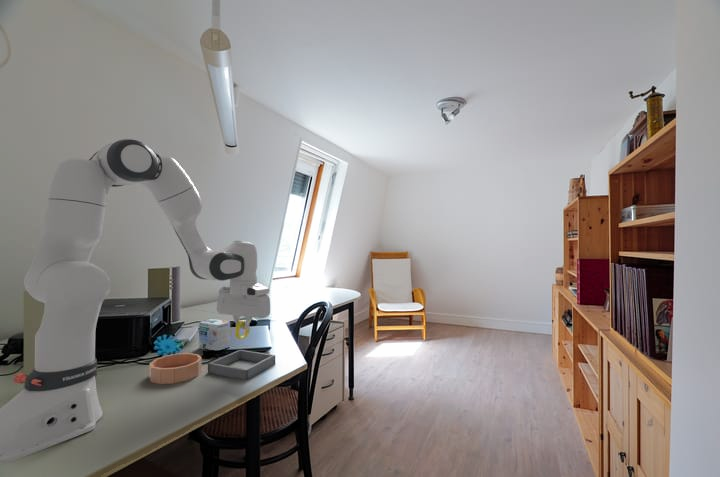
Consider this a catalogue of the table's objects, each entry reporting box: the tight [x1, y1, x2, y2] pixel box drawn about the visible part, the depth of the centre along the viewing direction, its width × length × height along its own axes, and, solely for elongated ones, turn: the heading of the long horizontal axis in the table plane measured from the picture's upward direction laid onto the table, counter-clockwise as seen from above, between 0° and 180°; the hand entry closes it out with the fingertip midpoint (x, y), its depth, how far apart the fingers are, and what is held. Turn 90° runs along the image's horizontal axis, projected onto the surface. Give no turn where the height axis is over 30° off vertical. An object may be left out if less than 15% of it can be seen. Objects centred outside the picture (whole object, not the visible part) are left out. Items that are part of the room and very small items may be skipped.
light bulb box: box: [198, 318, 231, 350], centre depth 142 cm, size 11×7×11 cm, turn 65°
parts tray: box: [207, 349, 276, 381], centre depth 120 cm, size 16×16×3 cm
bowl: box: [148, 352, 203, 385], centre depth 114 cm, size 15×15×4 cm
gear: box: [153, 334, 184, 357], centre depth 132 cm, size 11×6×10 cm
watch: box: [234, 319, 251, 340], centre depth 120 cm, size 6×3×6 cm, turn 160°
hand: (242, 328), depth 120 cm, fingers closed on watch
